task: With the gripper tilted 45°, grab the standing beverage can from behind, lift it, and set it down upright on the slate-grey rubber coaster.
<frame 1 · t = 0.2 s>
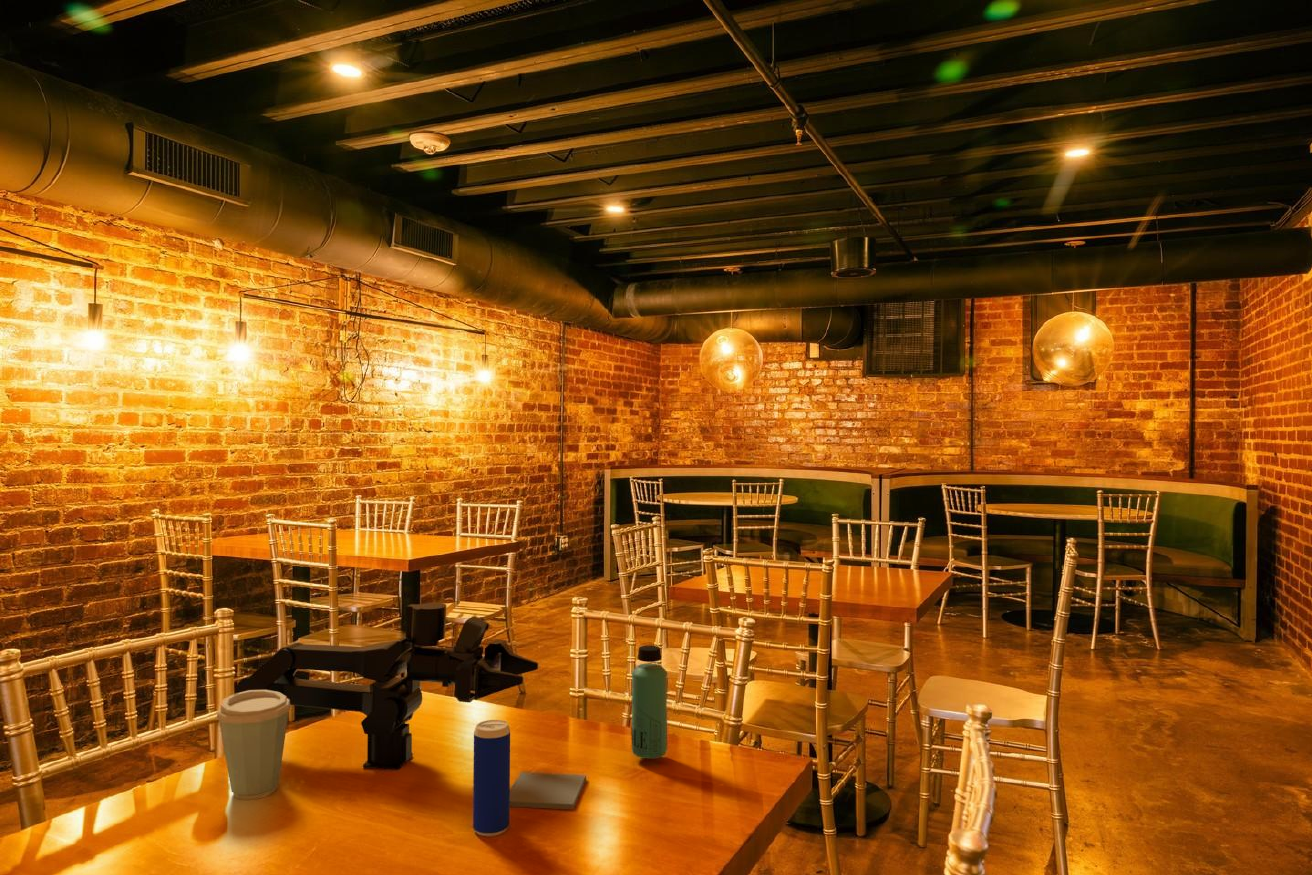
hand: (530, 672, 138), 17 cm above the table, tool horizontal, fingers open, 9 cm apart
beverage bottle: (649, 761, 143), on the table
coaster: (545, 792, 130), on the table
beverage can: (491, 830, 117), on the table
disposable coffee cup: (253, 793, 129), on the table
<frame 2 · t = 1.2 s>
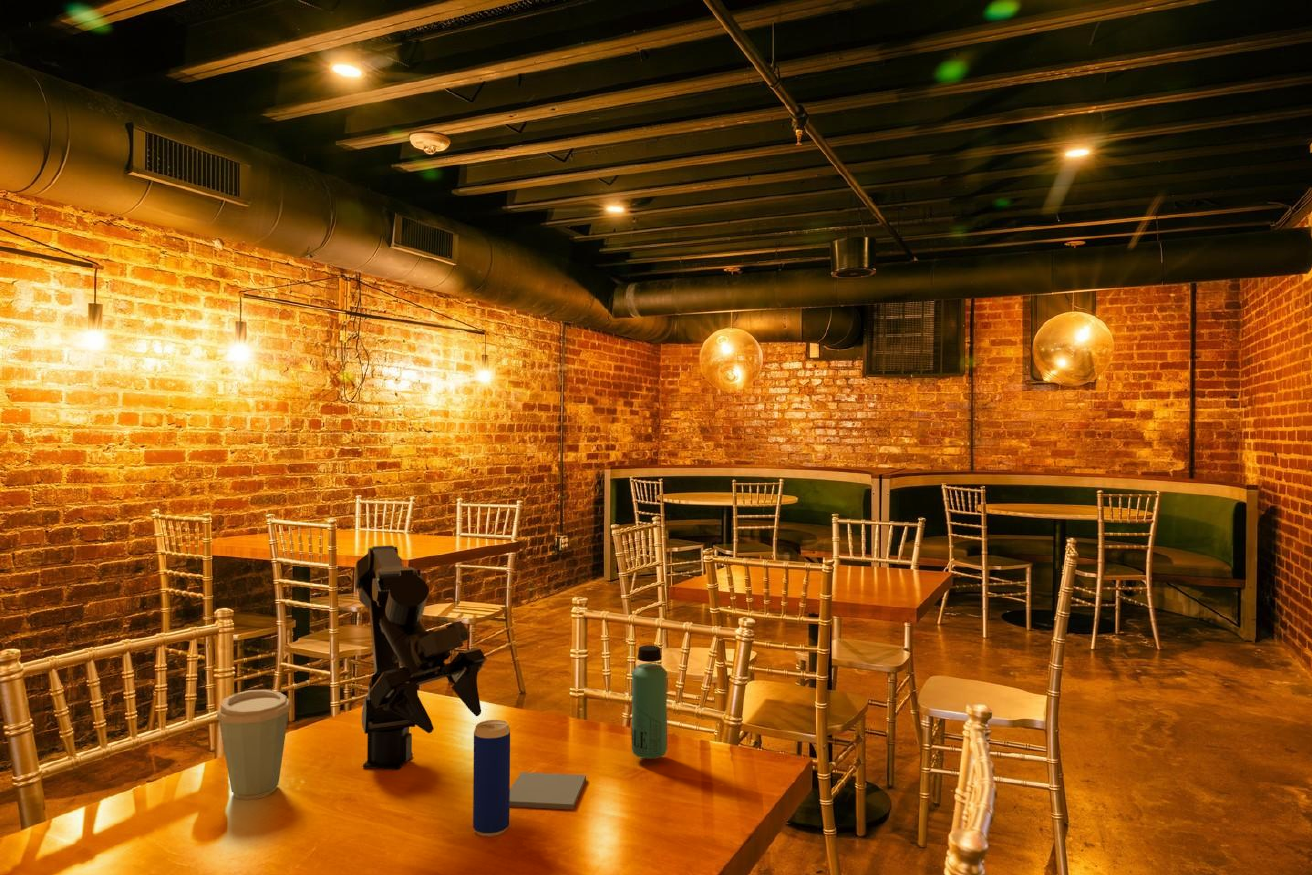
hand: (456, 722, 122), 14 cm above the table, tool tilted 45°, fingers open, 9 cm apart
nothing on the table moved.
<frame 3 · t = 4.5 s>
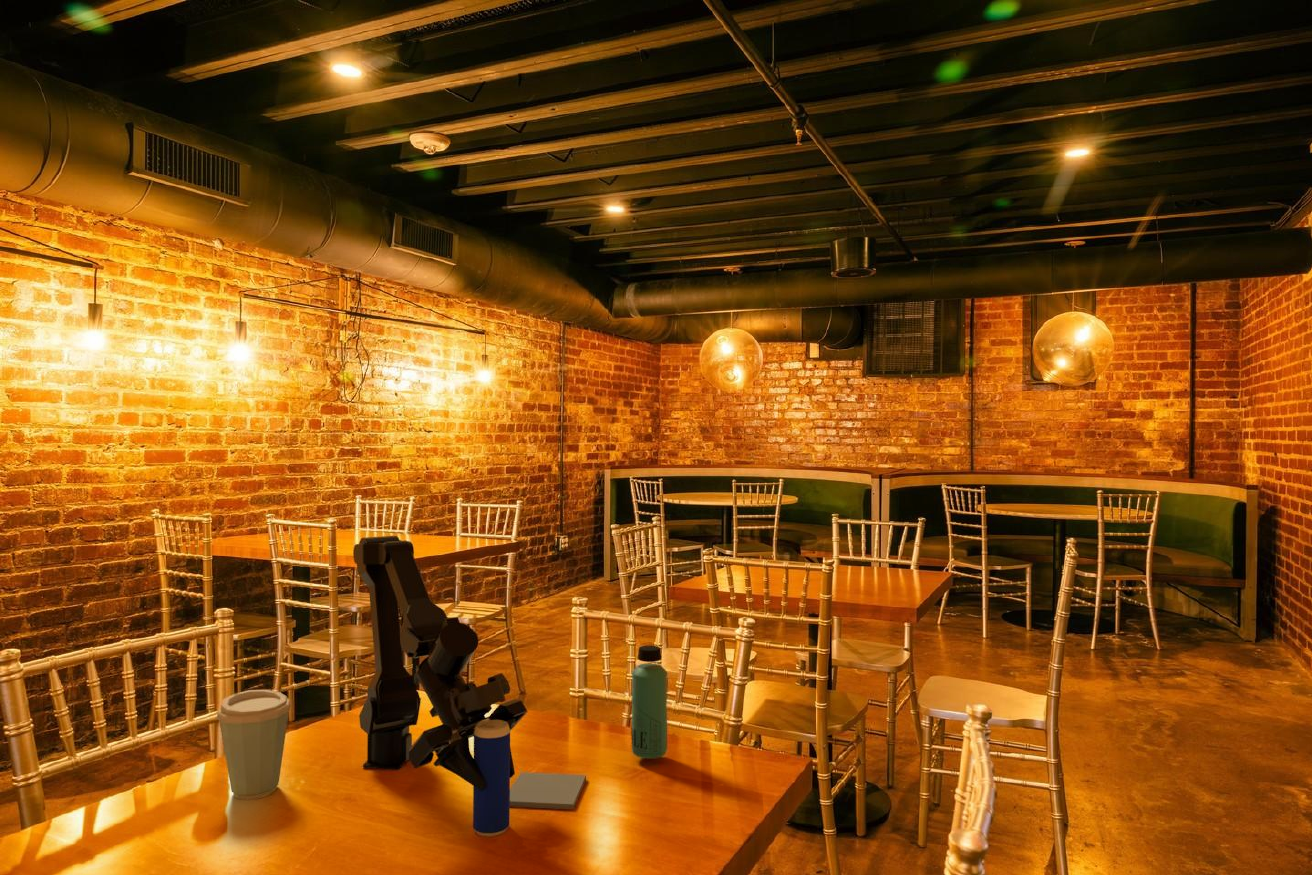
hand: (498, 782, 117), 7 cm above the table, tool tilted 45°, fingers closed on beverage can, 5 cm apart
beverage can: (491, 830, 117), on the table, touching gripper
everything else where it was.
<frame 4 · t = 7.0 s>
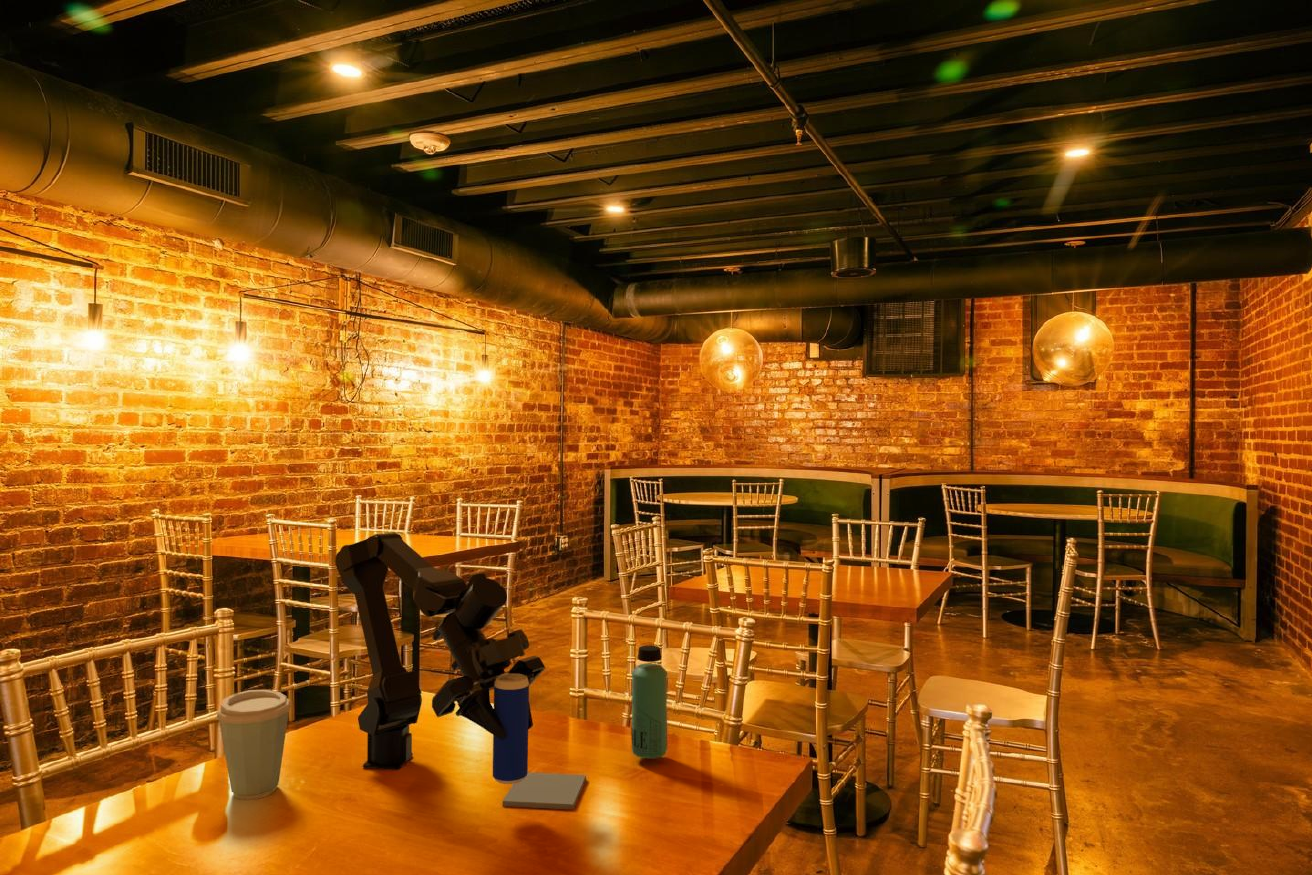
hand: (517, 732, 121), 13 cm above the table, tool tilted 45°, fingers closed on beverage can, 5 cm apart
beverage can: (510, 779, 122), point 5 cm above the table, touching gripper
everything else where it was.
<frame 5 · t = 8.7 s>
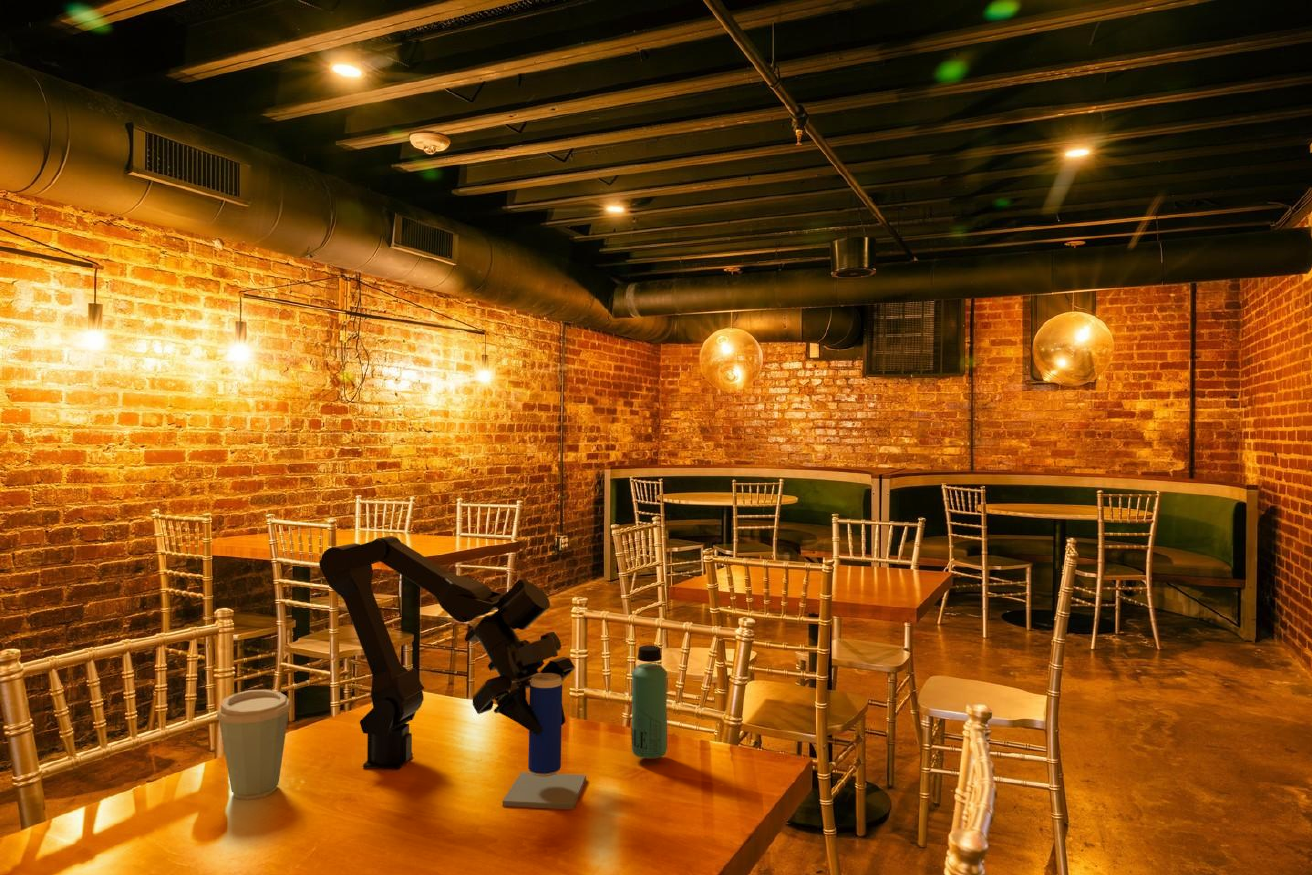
hand: (551, 728, 129), 10 cm above the table, tool tilted 45°, fingers closed on beverage can, 5 cm apart
beverage can: (544, 772, 130), point 3 cm above the table, touching gripper
everything else where it was.
when the fingers open (9 cm above the table, at t = 9.7 s): beverage can drops 1 cm, resting on coaster.
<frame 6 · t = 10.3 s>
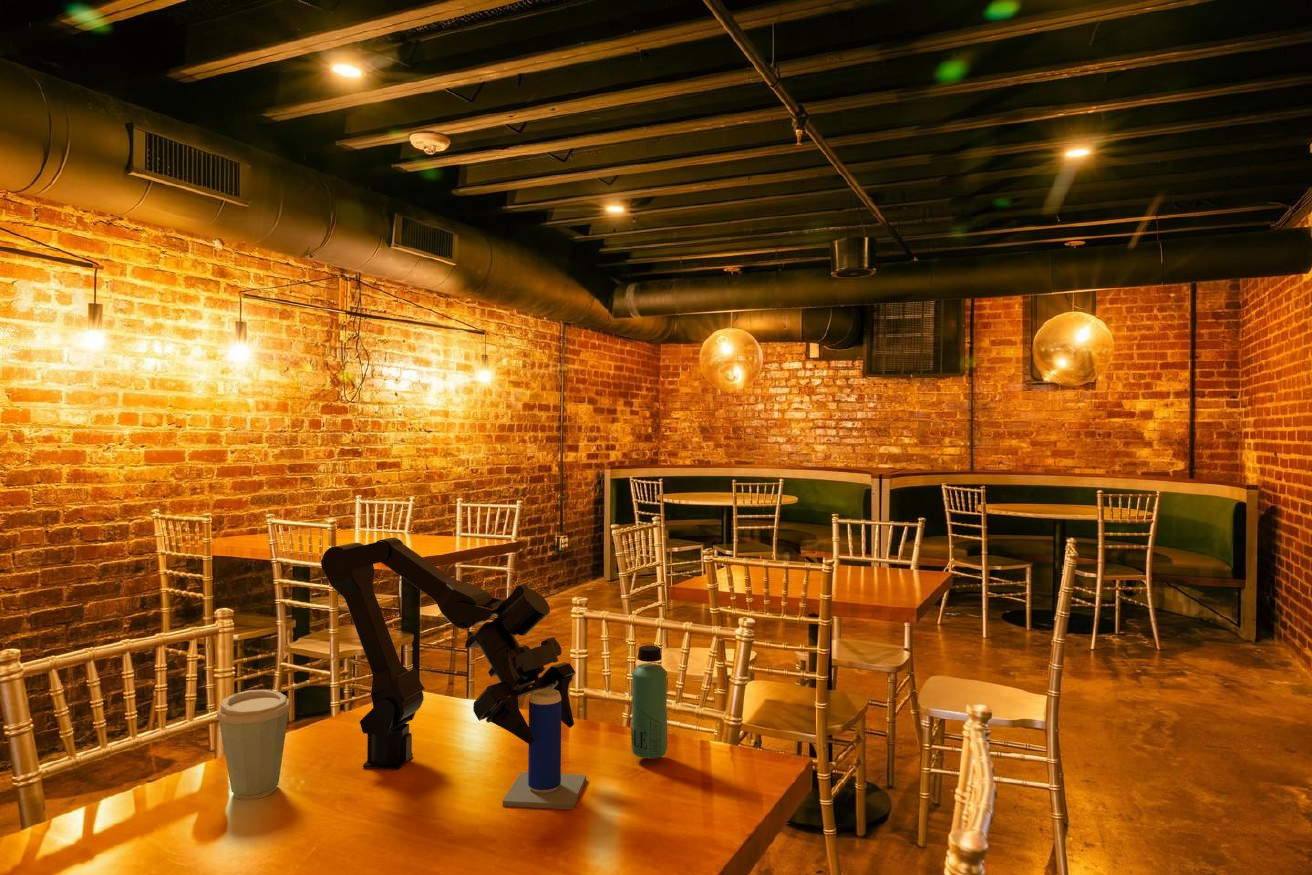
hand: (552, 734, 129), 10 cm above the table, tool tilted 45°, fingers open, 9 cm apart
beverage can: (544, 788, 130), point 1 cm above the table, touching coaster
everything else where it was.
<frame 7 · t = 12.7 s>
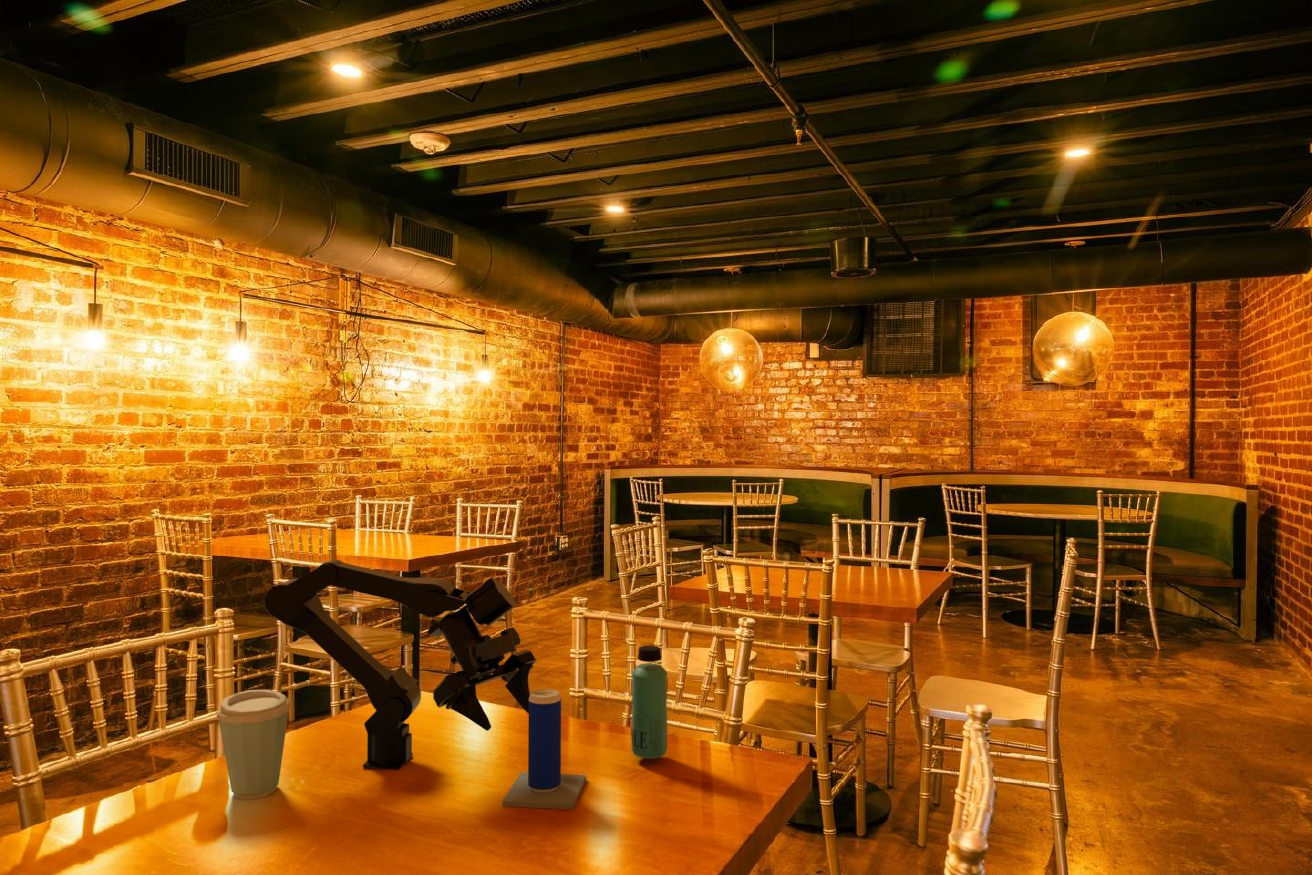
hand: (510, 720, 135), 10 cm above the table, tool tilted 45°, fingers open, 9 cm apart
nothing on the table moved.
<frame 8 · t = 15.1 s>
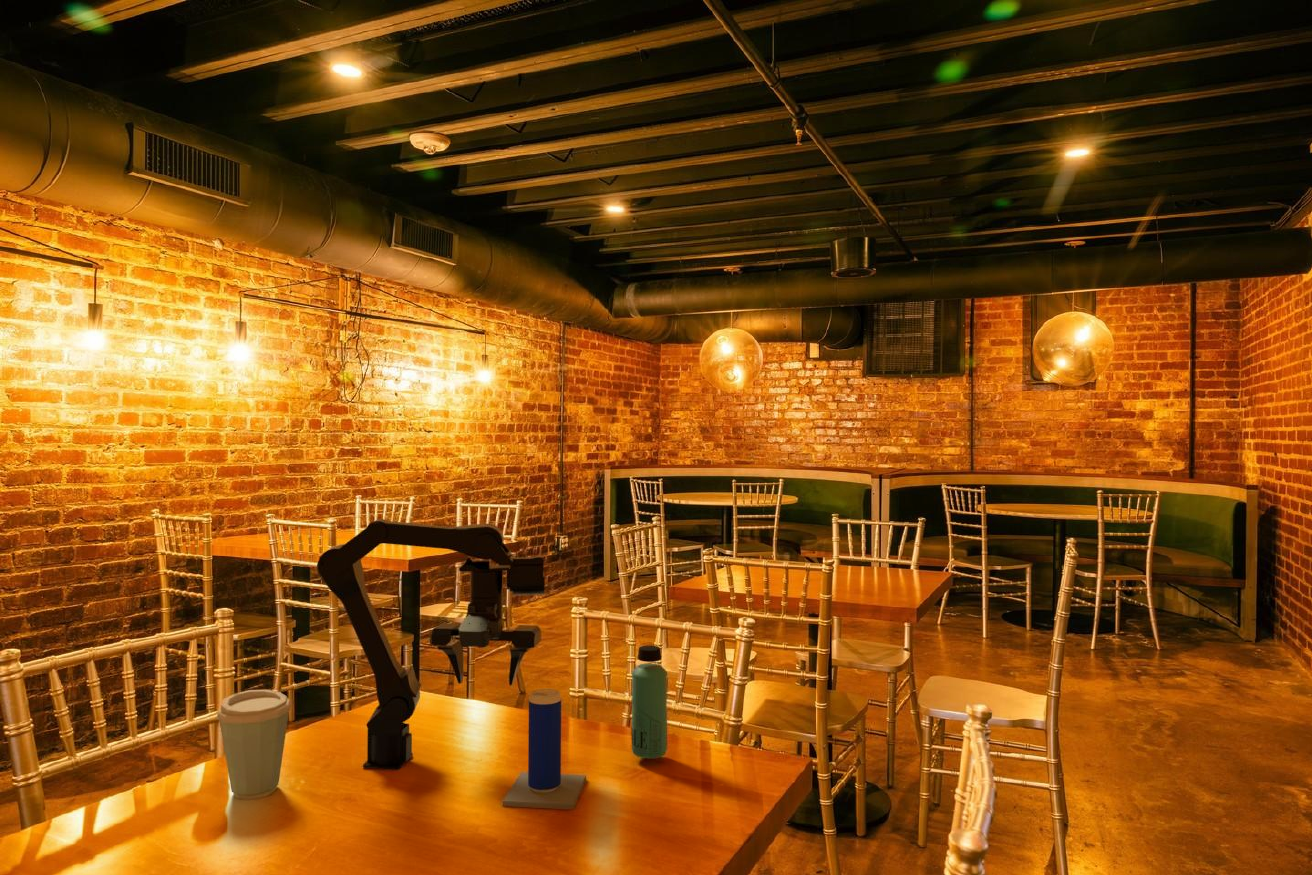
hand: (485, 683, 144), 13 cm above the table, tool pointing down, fingers open, 9 cm apart
nothing on the table moved.
at the end: beverage can inside the target area on the coaster (0.3 cm from its centre), point 0.6 cm above the coaster's base; beverage can tilted 0°; the gripper is holding nothing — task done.
